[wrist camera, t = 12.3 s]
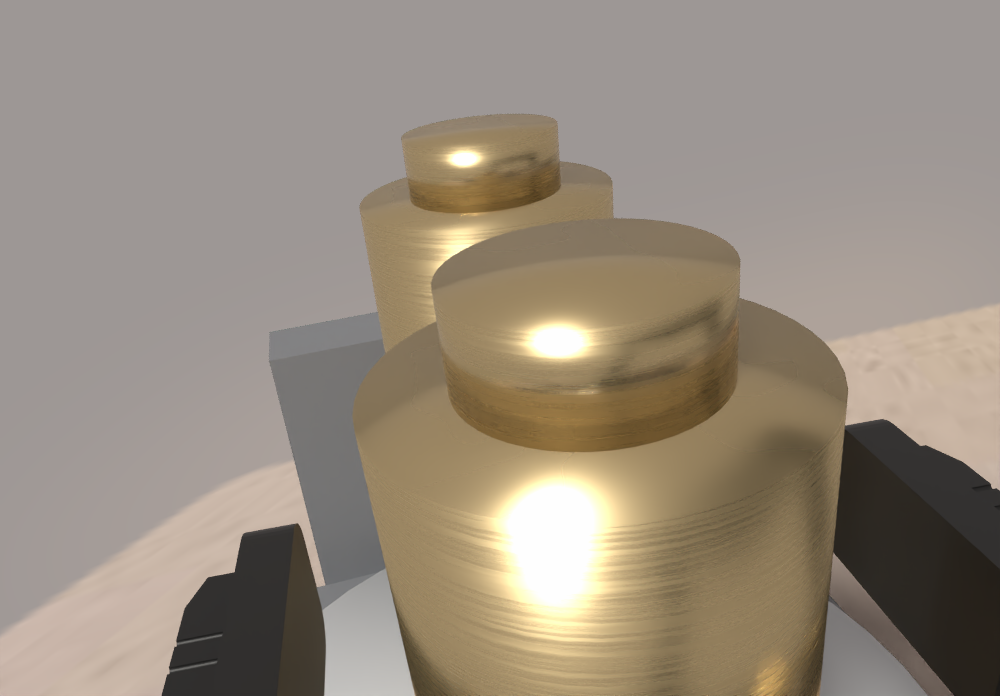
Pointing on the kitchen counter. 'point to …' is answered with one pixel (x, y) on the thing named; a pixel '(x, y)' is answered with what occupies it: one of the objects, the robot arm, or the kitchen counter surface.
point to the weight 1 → (467, 204)
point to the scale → (355, 542)
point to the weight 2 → (605, 472)
